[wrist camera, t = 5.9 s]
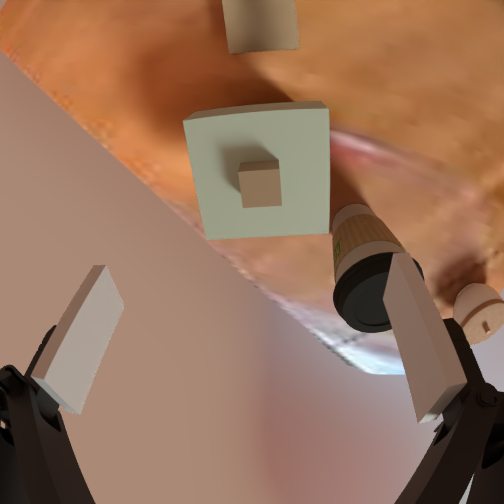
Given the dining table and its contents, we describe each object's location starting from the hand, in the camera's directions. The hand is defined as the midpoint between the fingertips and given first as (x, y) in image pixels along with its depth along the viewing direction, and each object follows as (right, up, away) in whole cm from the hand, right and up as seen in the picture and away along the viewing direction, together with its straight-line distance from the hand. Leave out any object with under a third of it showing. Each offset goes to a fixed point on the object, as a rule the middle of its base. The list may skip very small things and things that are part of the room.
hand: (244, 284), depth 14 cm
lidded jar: (+40, -7, +33) cm, 53 cm away
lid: (+1, +10, +14) cm, 17 cm away
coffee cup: (+14, +5, +26) cm, 30 cm away
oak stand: (+1, +26, +12) cm, 28 cm away
